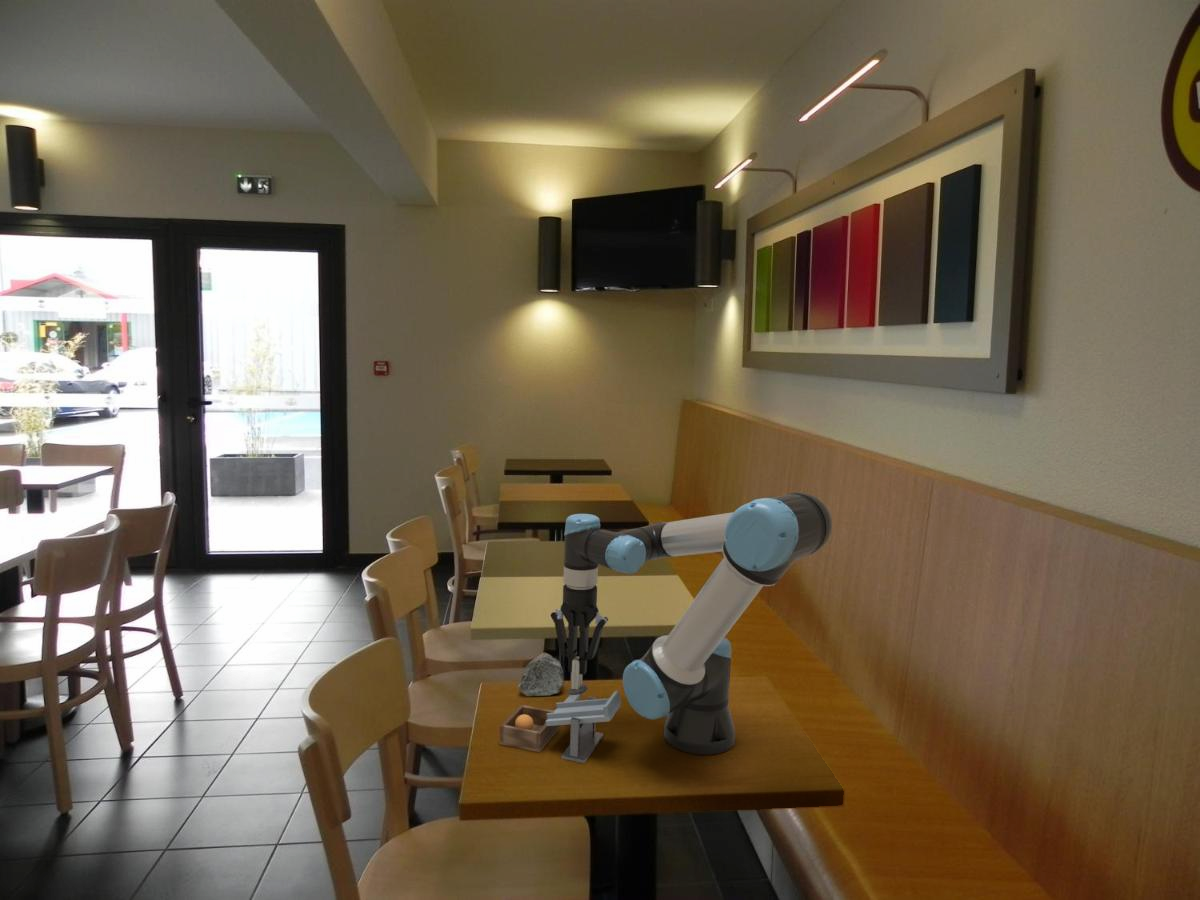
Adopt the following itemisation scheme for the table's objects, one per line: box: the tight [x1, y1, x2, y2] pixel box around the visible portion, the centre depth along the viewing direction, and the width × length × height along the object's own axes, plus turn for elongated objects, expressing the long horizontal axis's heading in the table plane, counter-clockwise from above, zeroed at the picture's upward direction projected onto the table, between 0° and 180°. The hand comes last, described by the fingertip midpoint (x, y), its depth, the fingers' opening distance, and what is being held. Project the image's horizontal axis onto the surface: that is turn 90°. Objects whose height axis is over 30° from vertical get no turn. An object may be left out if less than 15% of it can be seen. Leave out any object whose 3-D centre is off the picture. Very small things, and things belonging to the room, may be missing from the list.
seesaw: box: [546, 683, 622, 726], centre depth 167 cm, size 15×18×3 cm
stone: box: [517, 652, 565, 697], centre depth 189 cm, size 10×10×10 cm
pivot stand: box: [560, 695, 604, 764], centre depth 163 cm, size 5×12×9 cm, turn 162°
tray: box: [499, 704, 560, 753], centre depth 167 cm, size 9×11×4 cm
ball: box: [515, 714, 534, 730], centre depth 167 cm, size 4×4×4 cm
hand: (576, 686), depth 175 cm, fingers closed
